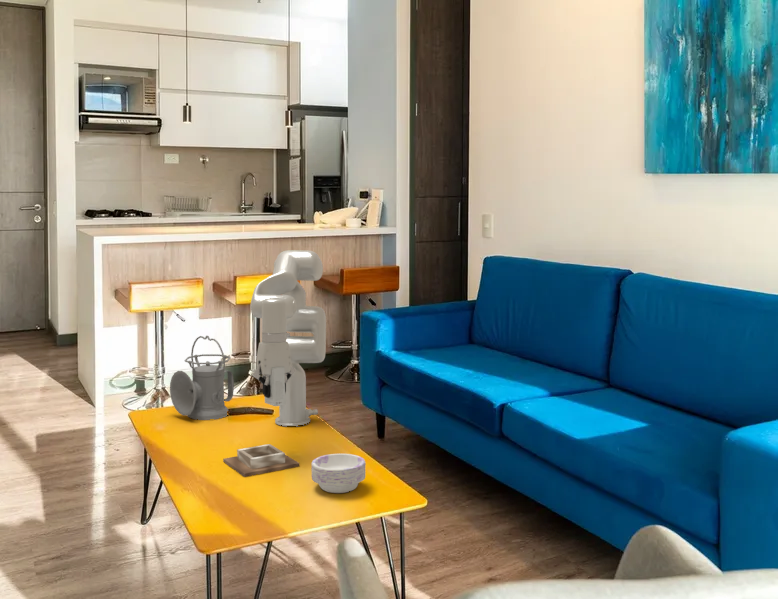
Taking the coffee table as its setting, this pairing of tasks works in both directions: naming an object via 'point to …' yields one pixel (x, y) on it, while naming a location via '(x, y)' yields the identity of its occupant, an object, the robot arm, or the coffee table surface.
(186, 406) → the lantern
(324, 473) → the paper bowls
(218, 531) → the coffee table surface
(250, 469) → the socket board
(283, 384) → the skincare box
